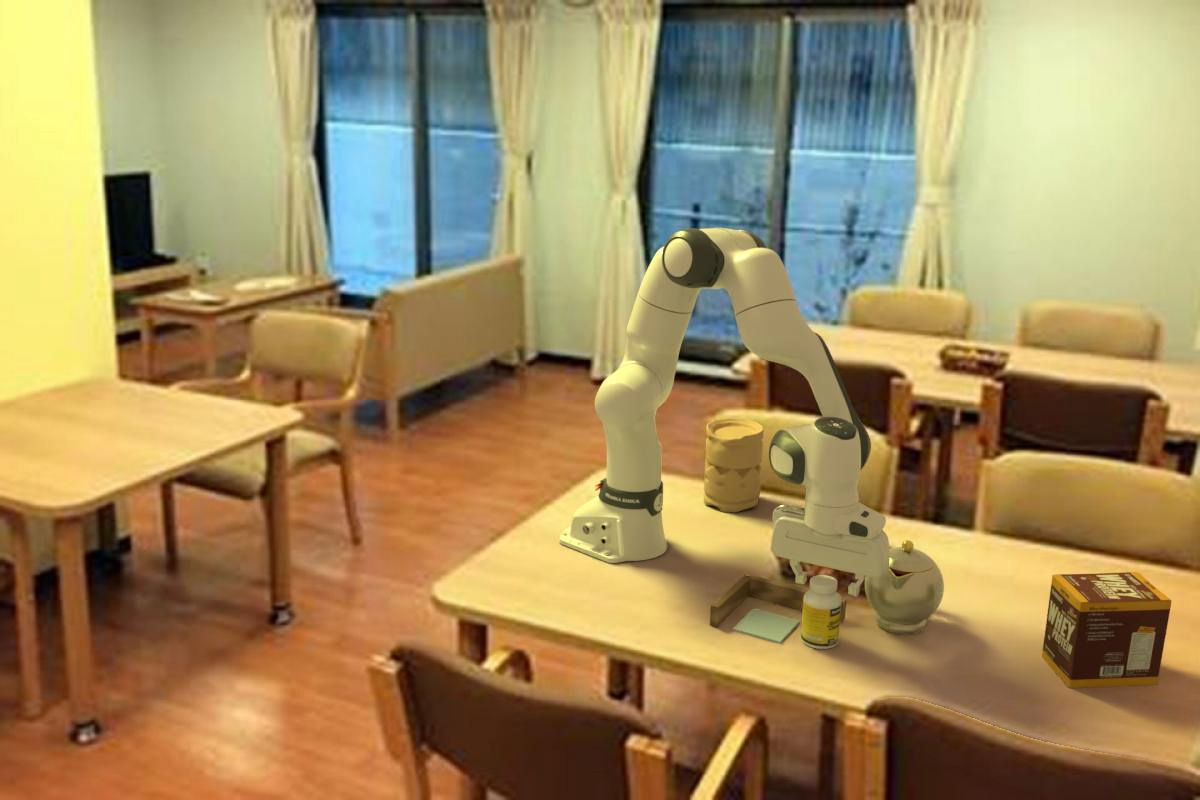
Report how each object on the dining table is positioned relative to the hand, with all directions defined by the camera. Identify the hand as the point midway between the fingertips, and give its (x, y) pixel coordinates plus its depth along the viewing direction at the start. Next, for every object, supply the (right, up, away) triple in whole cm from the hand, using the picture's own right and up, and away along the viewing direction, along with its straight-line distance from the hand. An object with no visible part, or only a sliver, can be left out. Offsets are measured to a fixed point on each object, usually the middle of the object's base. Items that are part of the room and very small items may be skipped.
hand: (826, 588), depth 203 cm
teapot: (+16, -8, +10) cm, 20 cm away
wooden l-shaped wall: (-7, -8, +9) cm, 14 cm away
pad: (-9, -8, +8) cm, 15 cm away
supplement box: (+44, -13, -5) cm, 46 cm away
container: (-9, +9, +64) cm, 65 cm away
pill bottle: (-1, -10, +3) cm, 10 cm away
